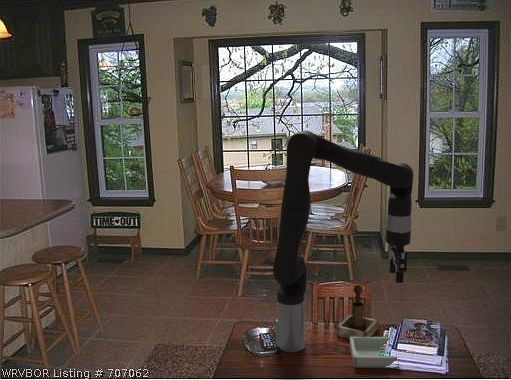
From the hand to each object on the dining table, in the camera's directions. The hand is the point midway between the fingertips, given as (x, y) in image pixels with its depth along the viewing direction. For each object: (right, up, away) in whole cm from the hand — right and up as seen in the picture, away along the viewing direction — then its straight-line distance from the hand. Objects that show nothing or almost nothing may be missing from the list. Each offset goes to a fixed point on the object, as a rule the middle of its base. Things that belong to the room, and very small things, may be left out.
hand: (396, 277), depth 166 cm
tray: (-5, -28, +9) cm, 30 cm away
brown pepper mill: (-7, -25, +26) cm, 37 cm away
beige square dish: (-7, -24, +26) cm, 36 cm away
